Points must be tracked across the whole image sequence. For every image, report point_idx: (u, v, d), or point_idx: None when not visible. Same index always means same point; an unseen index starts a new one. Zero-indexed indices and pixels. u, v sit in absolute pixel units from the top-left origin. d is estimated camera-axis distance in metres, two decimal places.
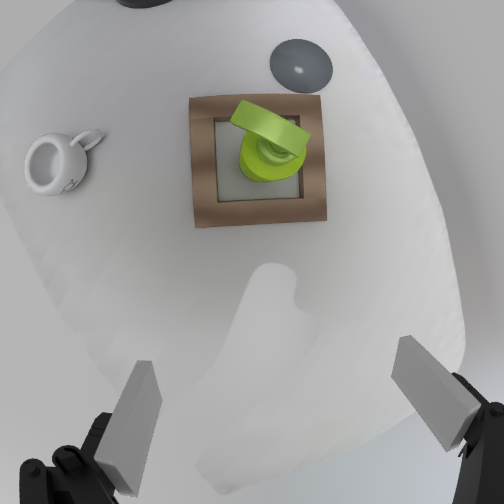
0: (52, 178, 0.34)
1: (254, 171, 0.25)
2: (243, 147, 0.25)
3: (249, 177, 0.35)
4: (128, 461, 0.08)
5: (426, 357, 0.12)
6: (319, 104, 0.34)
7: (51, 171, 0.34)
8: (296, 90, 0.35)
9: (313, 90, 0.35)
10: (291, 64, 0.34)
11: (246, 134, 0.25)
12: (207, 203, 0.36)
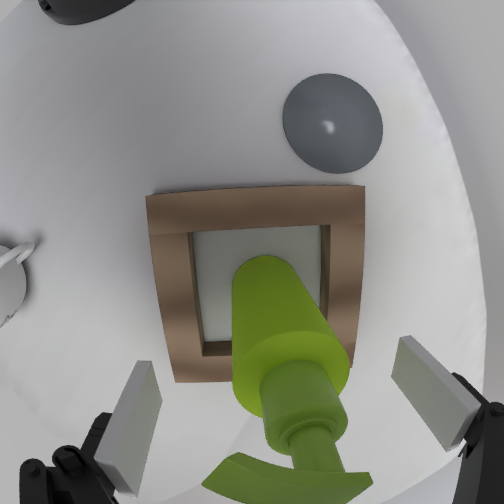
0: None
1: (255, 414, 0.14)
2: (235, 384, 0.13)
3: None
4: (128, 461, 0.08)
5: (426, 357, 0.12)
6: (363, 203, 0.22)
7: None
8: (325, 171, 0.23)
9: (352, 169, 0.23)
10: (319, 121, 0.22)
11: (241, 365, 0.13)
12: (188, 356, 0.24)
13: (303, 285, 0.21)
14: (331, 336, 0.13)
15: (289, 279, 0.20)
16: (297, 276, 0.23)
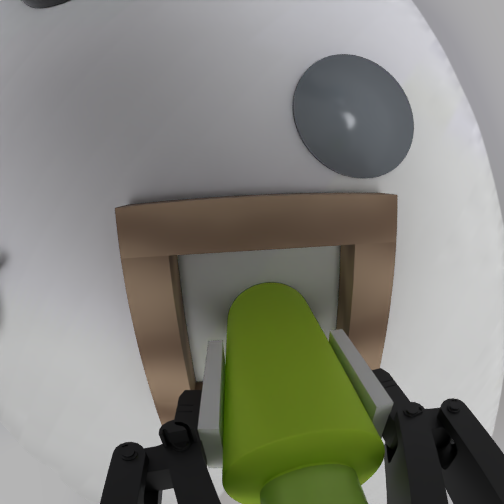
0: None
1: None
2: (227, 485, 0.08)
3: None
4: (222, 430, 0.10)
5: (349, 350, 0.13)
6: (394, 216, 0.17)
7: None
8: (347, 175, 0.18)
9: (379, 173, 0.18)
10: (338, 112, 0.17)
11: (233, 468, 0.07)
12: (176, 402, 0.19)
13: (319, 327, 0.15)
14: (366, 428, 0.07)
15: (302, 323, 0.14)
16: (311, 312, 0.17)
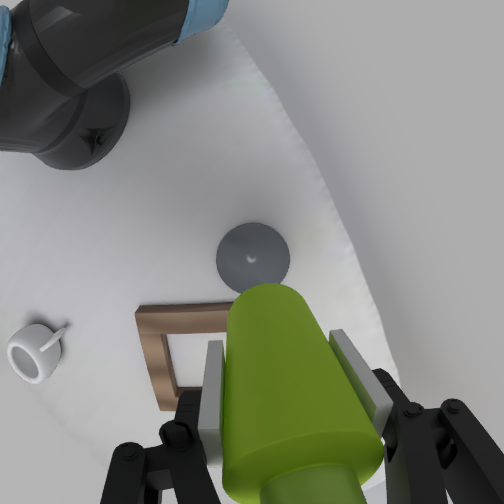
0: None
1: None
2: (227, 486, 0.08)
3: None
4: (222, 430, 0.10)
5: (349, 351, 0.13)
6: None
7: None
8: None
9: None
10: (240, 262, 0.36)
11: (233, 469, 0.07)
12: (166, 397, 0.38)
13: (319, 328, 0.15)
14: (366, 429, 0.07)
15: (302, 324, 0.14)
16: (310, 313, 0.17)
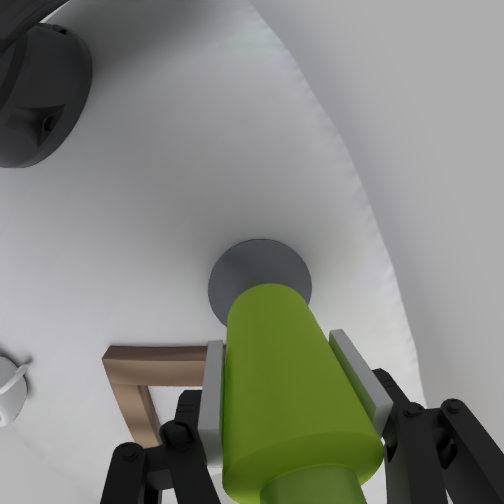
0: None
1: None
2: (227, 486, 0.08)
3: None
4: (222, 430, 0.10)
5: (349, 350, 0.13)
6: None
7: None
8: None
9: None
10: None
11: (233, 469, 0.07)
12: None
13: (319, 328, 0.15)
14: (366, 430, 0.07)
15: (302, 324, 0.14)
16: (310, 313, 0.17)
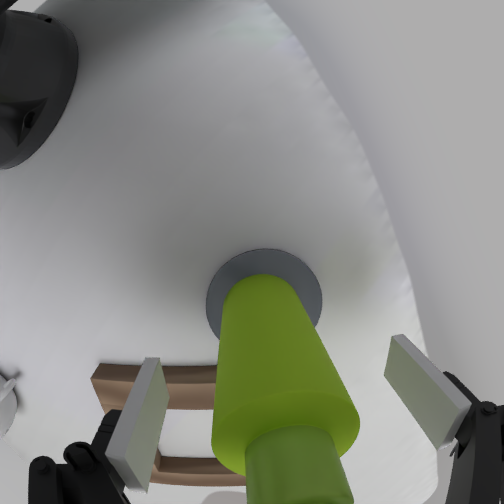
0: None
1: (243, 474, 0.10)
2: (215, 448, 0.09)
3: None
4: (138, 457, 0.08)
5: (417, 356, 0.12)
6: None
7: None
8: None
9: None
10: None
11: (220, 428, 0.09)
12: None
13: (305, 312, 0.17)
14: (338, 394, 0.09)
15: (287, 307, 0.16)
16: (298, 300, 0.19)
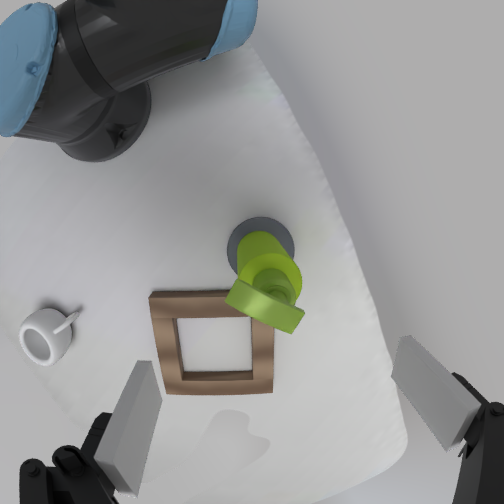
0: None
1: None
2: None
3: None
4: (128, 461, 0.08)
5: (426, 357, 0.12)
6: None
7: None
8: None
9: None
10: None
11: (242, 271, 0.26)
12: (174, 380, 0.41)
13: (281, 245, 0.34)
14: (289, 258, 0.26)
15: (272, 239, 0.33)
16: None
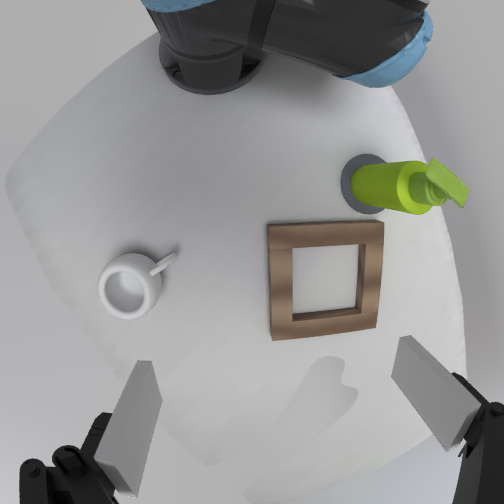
0: (123, 290, 0.40)
1: (405, 206, 0.28)
2: (398, 185, 0.27)
3: (366, 202, 0.37)
4: (128, 461, 0.08)
5: (426, 357, 0.12)
6: (382, 231, 0.40)
7: (120, 282, 0.40)
8: None
9: (376, 212, 0.41)
10: None
11: (400, 174, 0.27)
12: (283, 322, 0.42)
13: None
14: None
15: None
16: None
